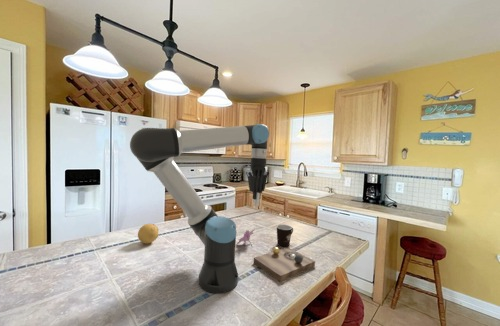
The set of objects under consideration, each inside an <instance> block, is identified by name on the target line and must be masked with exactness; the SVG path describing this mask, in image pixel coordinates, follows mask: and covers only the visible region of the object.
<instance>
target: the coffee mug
mask: <svg viewBox="0 0 500 326" xmlns="http://www.w3.org/2000/svg"><path fill="white" fill-rule="evenodd" d="M293 232H294V228H293V226H292V225H287V224H277V225H276V240H277V242H276V243H277V246H278V247H280V248H286V247H288V248H290V247H289V246H290V244H291V243H290V242H291V239H292V237H291V236H292V234H293Z"/></svg>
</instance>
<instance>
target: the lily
mask: <svg viewBox="0 0 500 326" xmlns="http://www.w3.org/2000/svg"><path fill="white" fill-rule="evenodd" d="M254 231H255V228H254V229H253V230H251V231H249V230H246V231H245V232H244V233H243V236H242V237H241V238H240V239H238V241H237V243H236V245H239V244H240V243H241V242H244V243H246V242H249V245H250V247H251V249H252V248H253V245H252V243H251V241H250V238H251V236H252V235H254Z"/></svg>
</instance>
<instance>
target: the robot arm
mask: <svg viewBox="0 0 500 326" xmlns="http://www.w3.org/2000/svg"><path fill="white" fill-rule="evenodd" d="M269 137H270V130H269V127H268V125H265V124H263V123H262V124H261V123H256V124H251V125H250V124H249V125H237V126H223V127H212V128H211V127H209V128H196V129H187V130H186V129H183V130H178V129H177V128H176V127H170V128H169V127H168V128H166V127H165V128H161V127H159V128H158V127H144V128H141V129H139V130H137V131H136V132H135V133H133V135H132V136H131V139H130V141H129V148H130V152H131V153H132V154H133V156H134V157H135V158H136V159H137V160H138V161H139V163H140V164H141V165H142V166H143V168H144V169H145V170H146V171H147V172H149V173H153V174H154V175H155V176H156V178H157V179H158V180H159V181H160V183H161V184H162V186H163V187H164V188H165V189H166V190H167V192H168V193H169V195H170V196H171V197H172V199H174V201H175V202H176V204H177V205H178V206H179V207H180V209H181V210H182V211H183V212H184V214H185V216H186V217H187V218H188V219H187V224H188V225H189V227H190V228H191V230H192V231H193V233H194V234H195V235H196V236H197V238H198V239H199V240H200V241H201V243H202V244H203V245H204V254H203V255H204V257H203V258H204V259H203V262H202V266H201V269H200V271H199V274H198V283H197V284H198V286H199V288H200V289H201V290H203V291H205V292H207V293H211V294H222V293H227V292H230V291H231V290H233V289H235V288H236V287H237V285H238V283H239V273H238V268H237V265H236V261H235V259H236V258H235V257H236V245H237V243H236V242H237V241H236V240H237V225H236V224H237V223H235V221H234V220H233V219H231V218H229V217H226V216H219V215H218V214H217V213H216V212H215V210H214V209H213V207H212V205H209V204H205V202H204V201H203V199H202V198H201V197H200V195H199V194H198V193H197V191H196V190H195V189H194V186H192V184H191V182H190V181H189V180H188V179H187V177H186V176H185V175H184V173H183V171H182V170H181V168H180V167H179V166H178V164H177V163H176V162H175V160H174V158H176V157H180V156H181V155H182V154H184V153H191V152H197V151H198V152H199V151H207V150H216V149H223V148H230V147H237V146H238V147H239V146H244V145H245V146H247V145H248V146H249V145H250V146H251V150H250V151H251V153H250V157H251V158H250V170H249V171H245V174H246V176H247V183H248V189H249V191H250V192H252V200H253V203H252V204H253V205H252V206H254V207H257V208H258V207H259V206H260V200H261V194H262V193H263V192H264V191H265V188H266V184H267V179H268V177H269V175H270V172H269V171H267V169H266V166H267V156H268V155H267V153H268V141H269Z"/></svg>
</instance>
